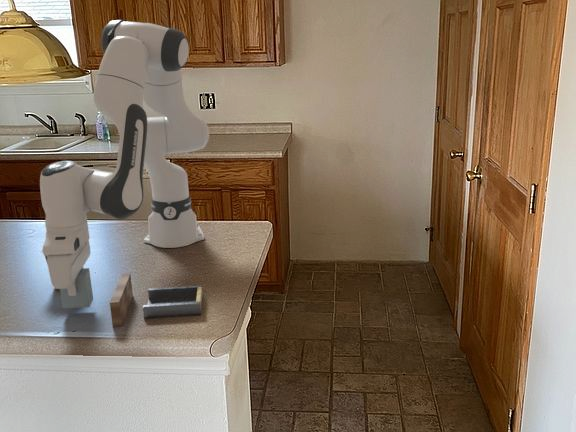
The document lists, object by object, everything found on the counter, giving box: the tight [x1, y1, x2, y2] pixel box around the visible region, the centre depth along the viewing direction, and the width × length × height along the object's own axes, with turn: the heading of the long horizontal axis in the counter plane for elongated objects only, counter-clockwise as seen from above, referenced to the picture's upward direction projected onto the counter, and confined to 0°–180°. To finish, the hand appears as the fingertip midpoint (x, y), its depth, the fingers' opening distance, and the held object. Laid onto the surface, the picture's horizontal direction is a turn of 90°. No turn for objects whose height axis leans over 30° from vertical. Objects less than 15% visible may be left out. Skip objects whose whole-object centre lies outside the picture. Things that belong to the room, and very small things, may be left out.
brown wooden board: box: [109, 273, 134, 328], centre depth 136 cm, size 16×2×6 cm, turn 6°
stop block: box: [59, 267, 94, 309], centre depth 134 cm, size 4×6×8 cm, turn 95°
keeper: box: [142, 285, 204, 320], centre depth 137 cm, size 10×13×3 cm
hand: (76, 289), depth 134 cm, fingers closed on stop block, 4 cm apart
